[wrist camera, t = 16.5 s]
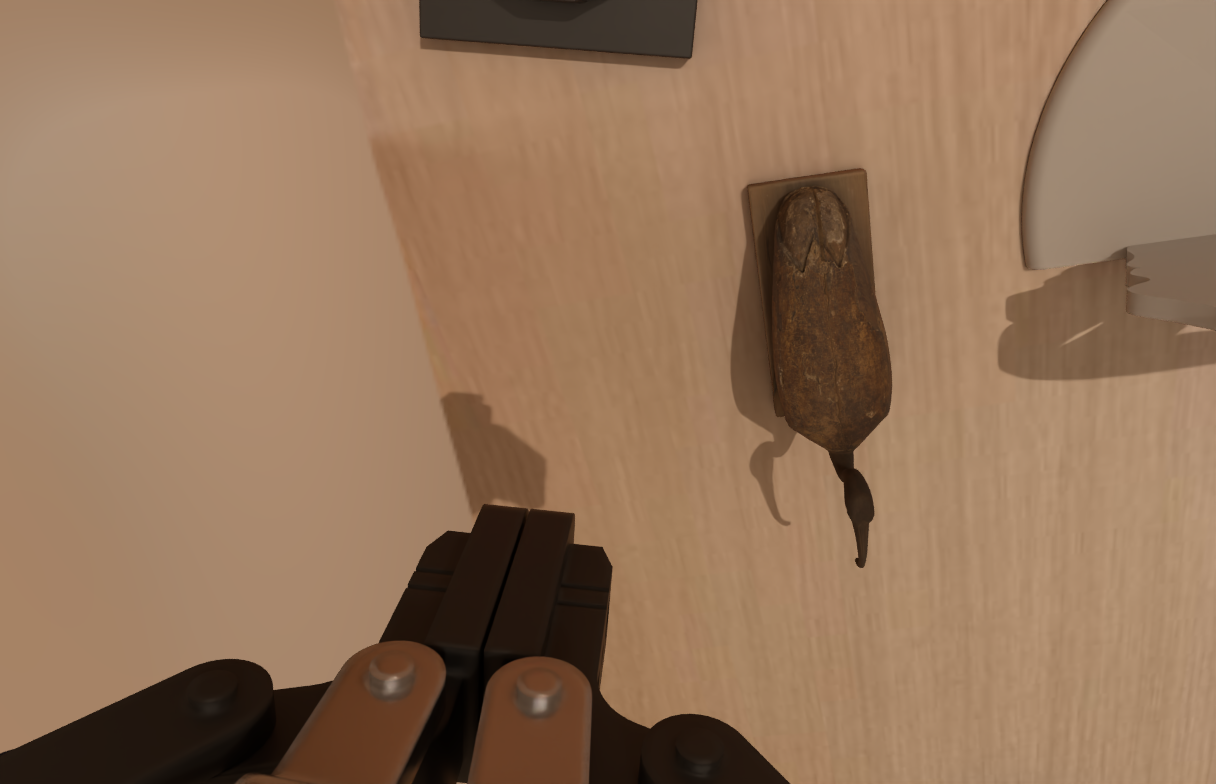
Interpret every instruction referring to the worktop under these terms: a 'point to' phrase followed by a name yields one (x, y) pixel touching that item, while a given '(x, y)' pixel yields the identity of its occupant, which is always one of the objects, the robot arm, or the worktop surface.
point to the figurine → (824, 319)
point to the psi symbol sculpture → (1133, 158)
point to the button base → (567, 24)
